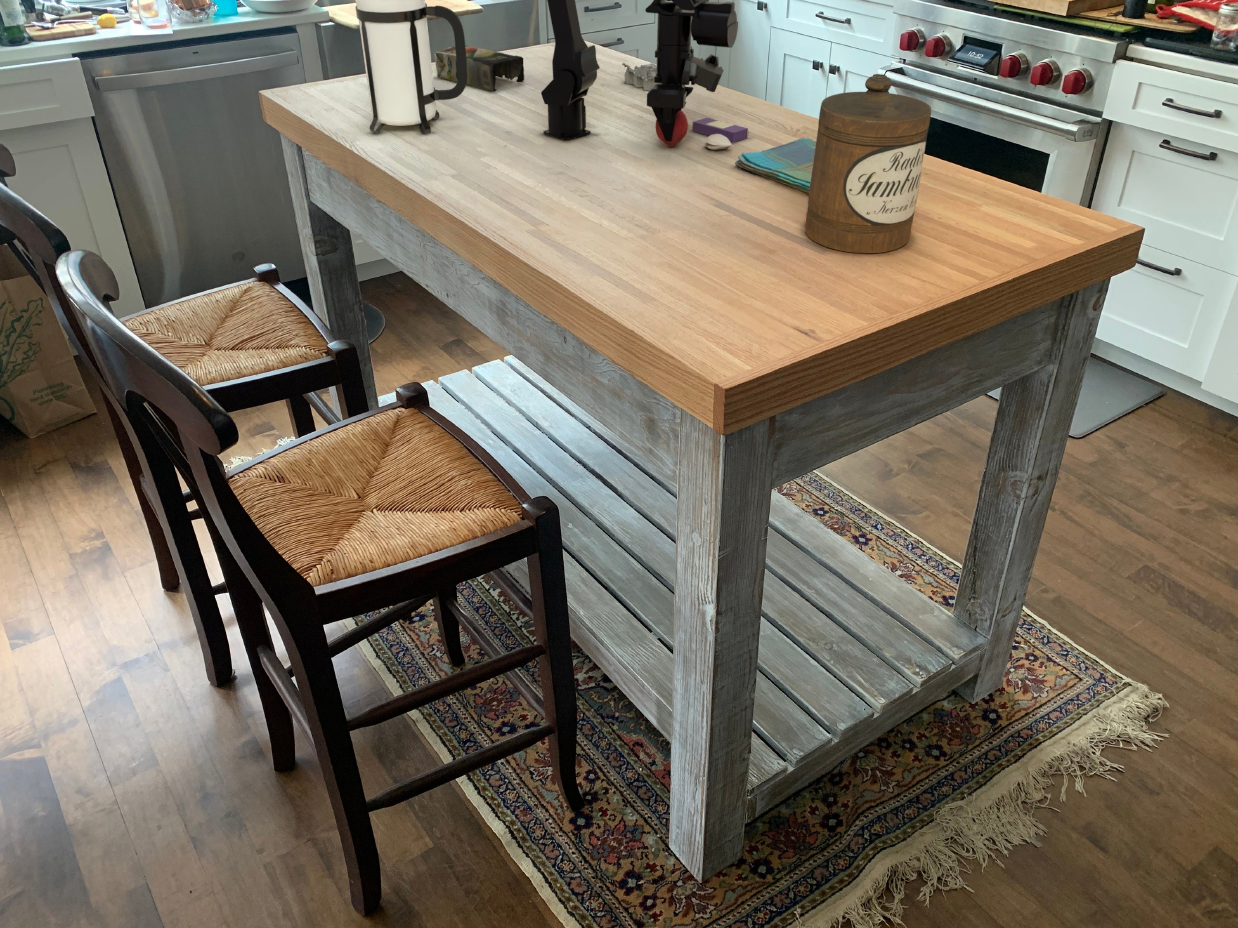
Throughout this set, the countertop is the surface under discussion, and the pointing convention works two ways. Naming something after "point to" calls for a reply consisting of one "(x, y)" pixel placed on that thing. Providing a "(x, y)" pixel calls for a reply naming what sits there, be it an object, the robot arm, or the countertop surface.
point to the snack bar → (720, 129)
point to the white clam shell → (717, 142)
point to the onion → (675, 130)
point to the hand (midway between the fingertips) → (671, 136)
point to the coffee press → (404, 61)
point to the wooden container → (867, 169)
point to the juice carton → (480, 66)
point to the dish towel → (783, 163)
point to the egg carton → (641, 76)
